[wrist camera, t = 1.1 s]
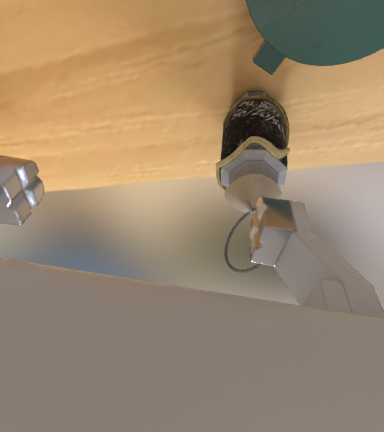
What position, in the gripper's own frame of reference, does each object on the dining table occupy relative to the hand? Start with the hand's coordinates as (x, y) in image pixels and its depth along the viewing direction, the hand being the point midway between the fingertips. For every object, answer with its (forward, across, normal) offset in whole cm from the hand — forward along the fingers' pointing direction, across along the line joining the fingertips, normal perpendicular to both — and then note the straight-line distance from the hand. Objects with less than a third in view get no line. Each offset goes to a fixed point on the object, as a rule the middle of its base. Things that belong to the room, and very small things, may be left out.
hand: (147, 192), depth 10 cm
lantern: (+31, -8, +9) cm, 34 cm away
